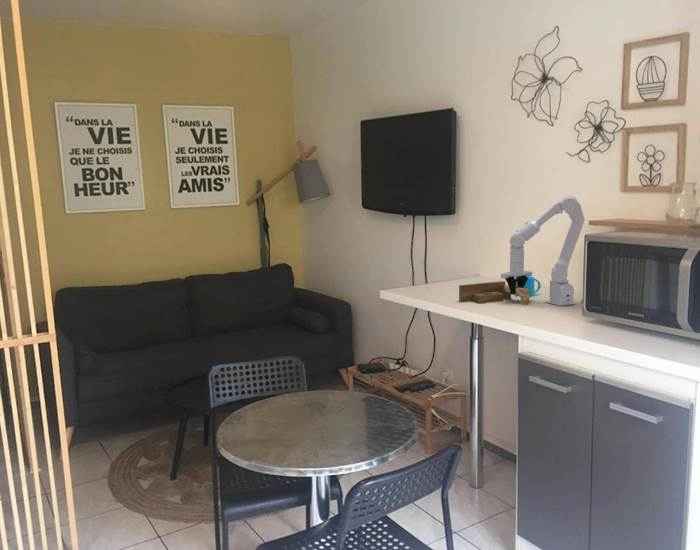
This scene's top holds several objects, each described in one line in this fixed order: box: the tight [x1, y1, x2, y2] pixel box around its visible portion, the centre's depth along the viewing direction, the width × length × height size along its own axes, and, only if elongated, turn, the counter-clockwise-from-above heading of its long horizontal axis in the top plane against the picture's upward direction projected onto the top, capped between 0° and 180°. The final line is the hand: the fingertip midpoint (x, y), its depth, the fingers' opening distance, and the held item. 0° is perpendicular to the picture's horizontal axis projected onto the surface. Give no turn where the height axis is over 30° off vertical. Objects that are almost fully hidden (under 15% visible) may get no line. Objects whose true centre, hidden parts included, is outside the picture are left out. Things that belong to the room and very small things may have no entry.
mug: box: [514, 276, 542, 298], centre depth 280 cm, size 12×8×8 cm
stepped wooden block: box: [458, 280, 506, 304], centre depth 270 cm, size 8×22×7 cm, turn 112°
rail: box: [504, 284, 531, 306], centre depth 267 cm, size 14×3×6 cm, turn 21°
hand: (516, 294), depth 267 cm, fingers closed on rail, 3 cm apart
